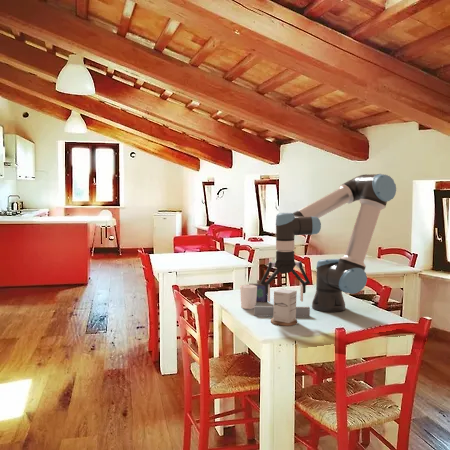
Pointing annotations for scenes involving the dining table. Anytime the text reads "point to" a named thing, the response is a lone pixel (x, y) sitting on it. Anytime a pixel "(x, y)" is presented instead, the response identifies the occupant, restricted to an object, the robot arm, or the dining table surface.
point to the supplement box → (284, 305)
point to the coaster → (283, 323)
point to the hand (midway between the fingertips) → (285, 300)
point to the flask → (260, 292)
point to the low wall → (269, 310)
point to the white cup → (248, 296)
